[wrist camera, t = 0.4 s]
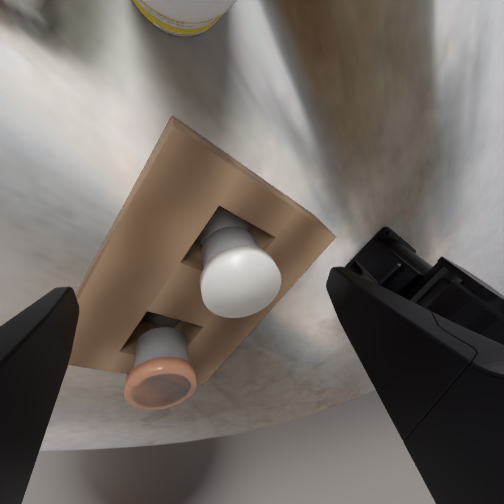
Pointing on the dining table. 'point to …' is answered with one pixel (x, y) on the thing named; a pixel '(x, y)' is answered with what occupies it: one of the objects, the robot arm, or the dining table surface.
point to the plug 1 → (160, 371)
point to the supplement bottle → (183, 14)
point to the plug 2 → (237, 274)
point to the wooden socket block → (184, 254)
